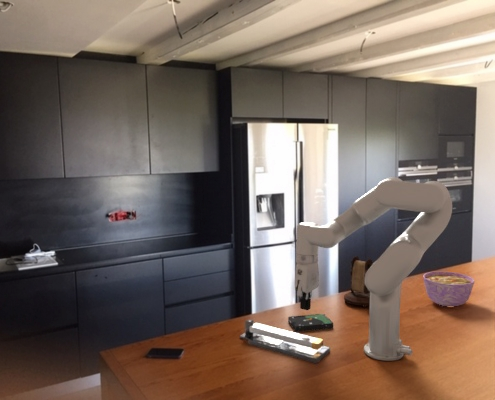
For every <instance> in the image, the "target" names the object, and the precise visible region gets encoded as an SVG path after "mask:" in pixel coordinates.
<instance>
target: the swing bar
mask: <svg viewBox="0 0 495 400" xmlns="http://www.w3.org/2000/svg"><path fill="white" fill-rule="evenodd" d="M244 333H245V335H248V336H251V335H253V334H254V333H256V334H259V335H263V336H267V337H271V338H274V339H278V340H282V341H286V342H289V343H293V344H297V345H301V346H304V347H308V348H312V349H315V350H319V349H320V348H321V347H322V346H324V339H322V338H320V337H319V338H318V337H313V336H309V335H306V334H302V333H299V332H295V331H294V332H293V331H290V330H286V329H282V328H277V327H276V326H275V327H274V326H271V325H267V324H263V323H259V322H255V323H254V319H245V321H244Z"/></svg>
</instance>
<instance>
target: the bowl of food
mask: <svg viewBox="0 0 495 400" xmlns="http://www.w3.org/2000/svg"><path fill="white" fill-rule="evenodd" d="M422 276H423V283H424V287H425V288H424V289H425V291H426V294H427V297H428V298H429V299H430V300H431V301H432V302H433V303H435V304H436V305H438V304H439V305H438V306H440V305H442V306H441V307H443V306H457V307H458V306H459V307H460V306H462V305H464V304H466V303H467V301H469V299H470V296H471V294H472V290H473V287H474V284H475V279H474V277H471V276H469V275H466V274H464V273H459V272H454V271H453V272H452V271H430V272H426V273H424V274H423V275H422Z"/></svg>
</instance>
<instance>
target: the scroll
mask: <svg viewBox="0 0 495 400" xmlns="http://www.w3.org/2000/svg"><path fill="white" fill-rule="evenodd" d="M373 263H374V262H373V260H372V258H368V259H366V261H364V260H363V261H362V260H360V257H359V256H357V255H355V256H353V258H352V259H351V260H350V271H349V275H350V276H351V278H350V282H349V283H350V292H347V293H345V294H344V295H343V300H344V303H346V304H347V303H349V304H351V305H356V306H363V309H366V307H367V306H370V291H369V290H368V289H367V287H366V285H365V275H366V272H367V271H368V269H369V268H370V267H371V266H372V264H373Z"/></svg>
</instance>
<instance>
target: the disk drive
mask: <svg viewBox="0 0 495 400" xmlns="http://www.w3.org/2000/svg"><path fill="white" fill-rule="evenodd" d="M287 319H288V323H289V325H290V327H291V328H292V329H293V330H294V333H299V332H300V333H301V332H309V331H312V332H313V331H323V330H333V329H334V322H333V321H332V320H331V319H330V318H329V317H328V316H326V314H325V313H315V314H307V315H306V314H305V315H292V316H288V317H287Z"/></svg>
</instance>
